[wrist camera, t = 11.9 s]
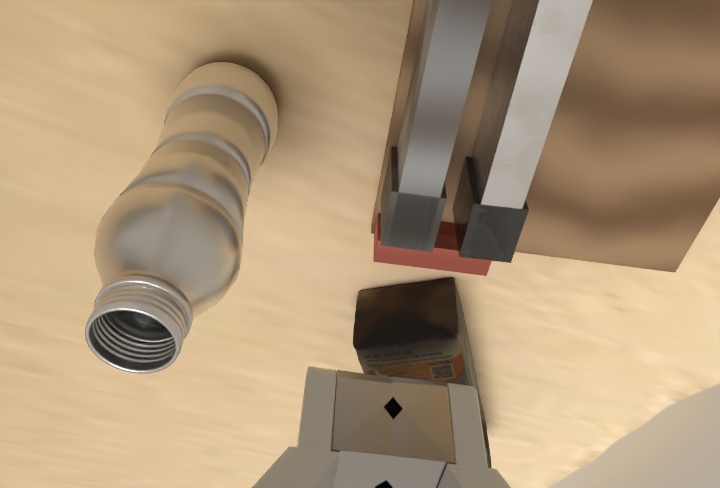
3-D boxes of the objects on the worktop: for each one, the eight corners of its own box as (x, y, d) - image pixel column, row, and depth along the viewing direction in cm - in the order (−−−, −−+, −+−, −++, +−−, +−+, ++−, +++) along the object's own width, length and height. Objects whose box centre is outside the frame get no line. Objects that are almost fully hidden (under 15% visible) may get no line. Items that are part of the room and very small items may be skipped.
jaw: (525, -81, 32) (545, -54, 28) (588, -72, 32) (617, -44, 28) (452, 209, 43) (458, 256, 39) (499, 214, 43) (510, 262, 39)
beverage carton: (403, 432, 61) (404, 496, 56) (351, 285, 50) (347, 349, 45) (487, 421, 60) (496, 487, 55) (454, 268, 48) (462, 332, 43)
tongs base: (451, -200, 30) (468, -180, 24) (894, -123, 31) (1021, -86, 25) (371, 224, 46) (369, 303, 39) (670, 263, 47) (713, 345, 41)
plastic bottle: (300, 77, 39) (242, 313, 23) (261, 164, 43) (189, 415, 27) (196, 30, 37) (60, 249, 22) (166, 124, 41) (32, 367, 26)
